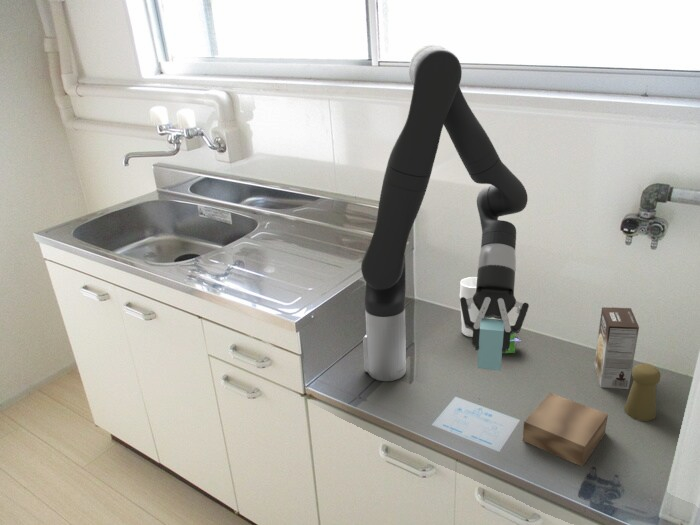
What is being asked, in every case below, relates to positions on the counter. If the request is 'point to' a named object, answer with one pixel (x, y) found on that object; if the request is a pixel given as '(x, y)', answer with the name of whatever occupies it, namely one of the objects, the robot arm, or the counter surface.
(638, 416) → the cork
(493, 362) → the teal block
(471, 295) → the drinking glass
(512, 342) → the geometric puzzle
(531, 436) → the walnut block
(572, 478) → the counter surface
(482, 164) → the robot arm
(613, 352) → the coffee box
